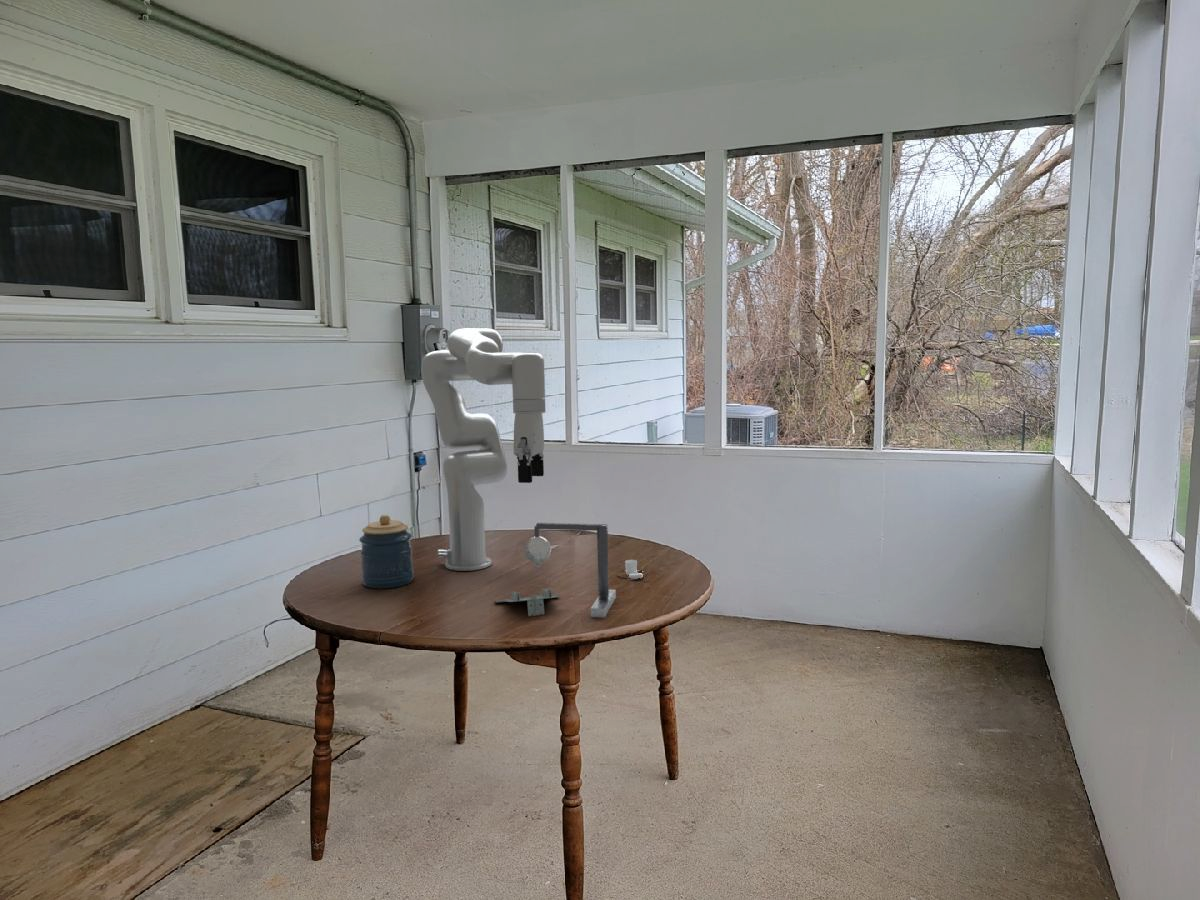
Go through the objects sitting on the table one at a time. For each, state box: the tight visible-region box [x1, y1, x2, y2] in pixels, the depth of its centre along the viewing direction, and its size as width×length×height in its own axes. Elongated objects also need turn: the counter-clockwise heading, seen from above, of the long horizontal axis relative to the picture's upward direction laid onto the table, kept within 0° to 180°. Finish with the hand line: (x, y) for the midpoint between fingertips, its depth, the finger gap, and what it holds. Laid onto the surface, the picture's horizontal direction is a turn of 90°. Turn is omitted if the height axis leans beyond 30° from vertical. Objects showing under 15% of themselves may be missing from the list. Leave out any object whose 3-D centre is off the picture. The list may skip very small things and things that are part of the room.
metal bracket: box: [494, 588, 560, 617], centre depth 179 cm, size 14×6×15 cm
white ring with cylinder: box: [624, 559, 643, 580], centre depth 203 cm, size 9×8×4 cm
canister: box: [358, 514, 415, 589], centre depth 200 cm, size 13×13×18 cm
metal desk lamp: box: [523, 522, 617, 619], centre depth 178 cm, size 20×14×19 cm
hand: (531, 479), depth 183 cm, fingers open, 9 cm apart
